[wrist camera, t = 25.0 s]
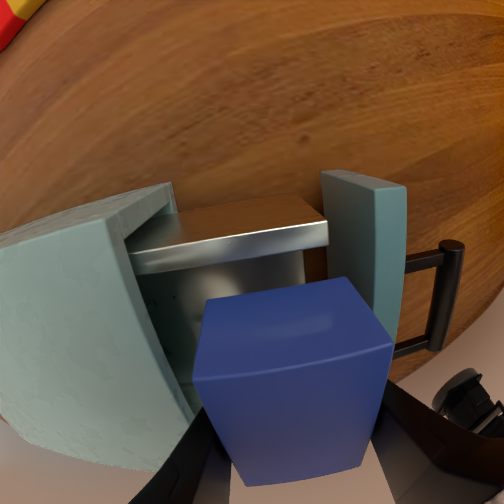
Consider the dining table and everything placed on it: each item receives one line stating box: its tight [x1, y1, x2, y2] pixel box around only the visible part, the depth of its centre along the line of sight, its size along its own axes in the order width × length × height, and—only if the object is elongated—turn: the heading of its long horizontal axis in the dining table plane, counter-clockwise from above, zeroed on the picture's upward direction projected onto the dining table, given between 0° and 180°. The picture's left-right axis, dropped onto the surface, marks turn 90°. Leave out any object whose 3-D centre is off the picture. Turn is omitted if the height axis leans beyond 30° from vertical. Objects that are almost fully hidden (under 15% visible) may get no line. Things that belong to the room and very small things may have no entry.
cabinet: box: [0, 182, 195, 472], centre depth 13 cm, size 16×14×8 cm
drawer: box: [124, 169, 465, 417], centre depth 12 cm, size 20×13×6 cm, turn 99°
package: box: [192, 277, 394, 487], centre depth 8 cm, size 5×7×4 cm, turn 9°
